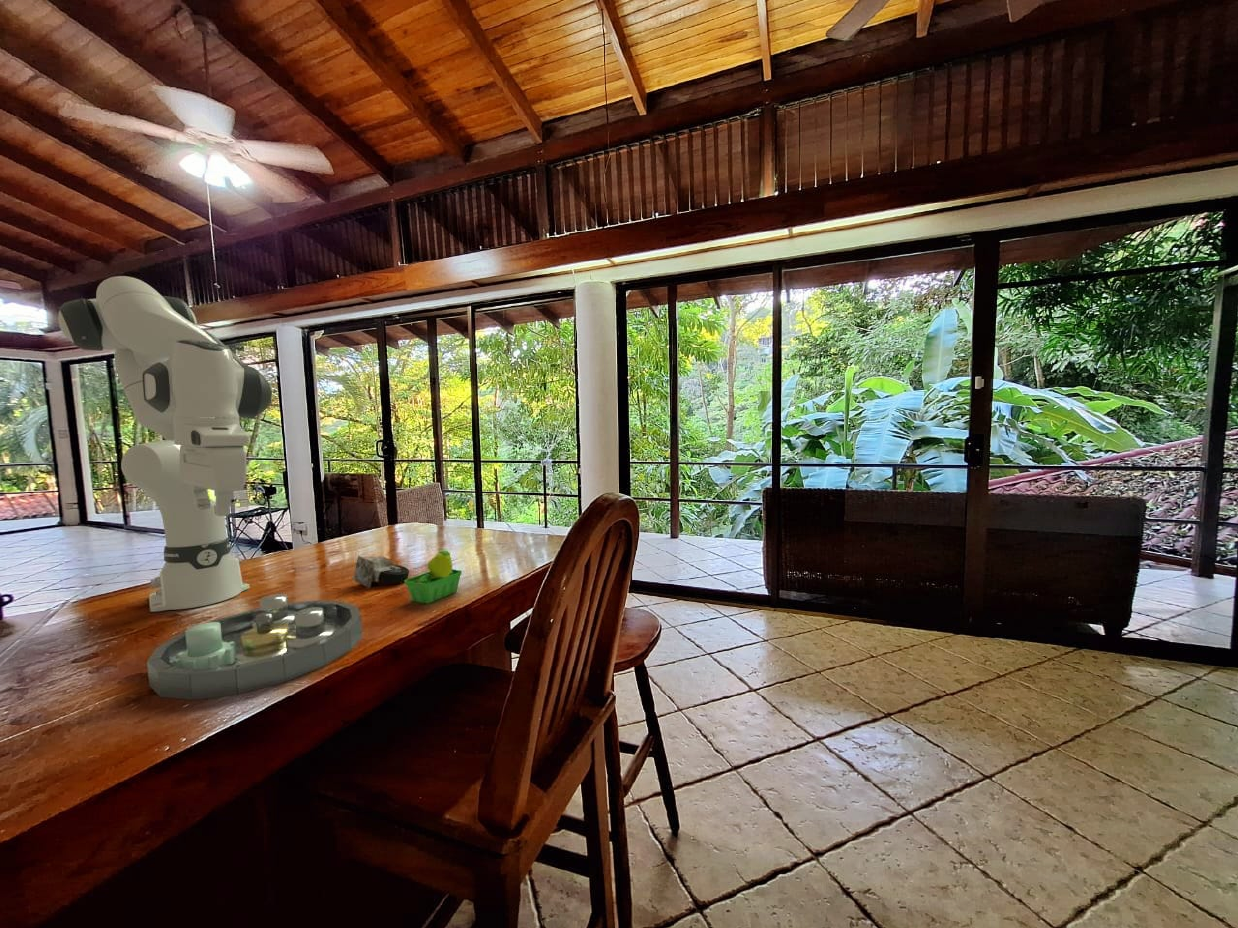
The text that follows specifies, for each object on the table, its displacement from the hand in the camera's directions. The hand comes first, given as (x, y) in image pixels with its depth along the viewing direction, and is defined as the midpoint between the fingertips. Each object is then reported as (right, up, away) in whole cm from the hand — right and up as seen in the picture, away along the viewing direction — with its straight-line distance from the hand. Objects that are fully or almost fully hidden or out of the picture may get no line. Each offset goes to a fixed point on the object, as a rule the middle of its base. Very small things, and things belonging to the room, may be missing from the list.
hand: (212, 512), depth 85 cm
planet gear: (+4, -25, -6) cm, 26 cm away
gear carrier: (+9, -26, +2) cm, 27 cm away
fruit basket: (+29, -23, +29) cm, 47 cm away
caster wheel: (+11, -23, +41) cm, 48 cm away
